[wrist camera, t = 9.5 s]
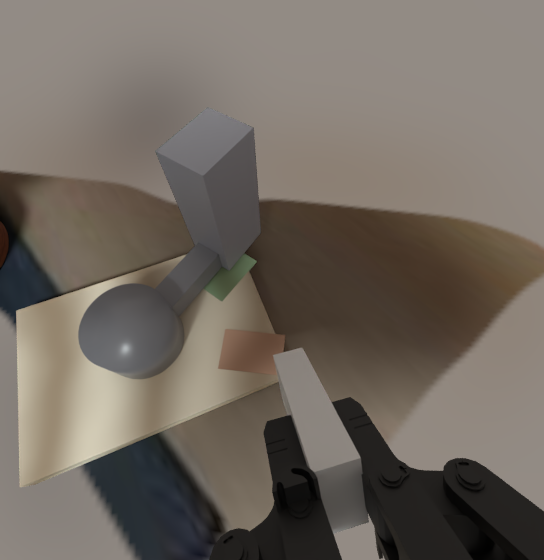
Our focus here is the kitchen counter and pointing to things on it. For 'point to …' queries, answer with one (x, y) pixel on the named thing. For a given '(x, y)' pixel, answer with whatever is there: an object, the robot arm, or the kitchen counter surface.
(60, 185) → the kitchen counter surface
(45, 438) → the board
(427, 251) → the kitchen counter surface
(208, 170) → the grey block with ball
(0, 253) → the music box
